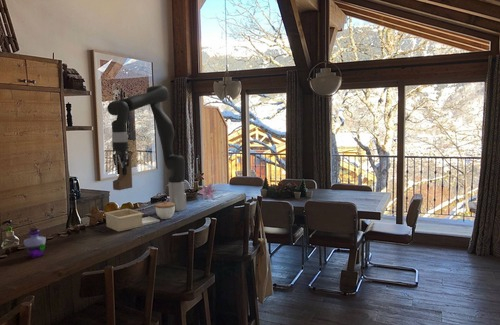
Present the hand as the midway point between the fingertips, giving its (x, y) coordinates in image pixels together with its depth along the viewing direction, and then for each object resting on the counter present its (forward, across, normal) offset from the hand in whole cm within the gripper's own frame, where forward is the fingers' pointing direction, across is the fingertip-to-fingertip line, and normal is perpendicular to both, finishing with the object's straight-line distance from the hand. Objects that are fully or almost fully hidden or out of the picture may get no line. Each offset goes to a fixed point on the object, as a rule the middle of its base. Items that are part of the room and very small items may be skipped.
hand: (121, 174), depth 203 cm
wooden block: (+8, 0, 0) cm, 8 cm away
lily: (+28, +26, -74) cm, 83 cm away
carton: (+27, 0, 0) cm, 27 cm away
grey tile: (+27, 0, -12) cm, 30 cm away
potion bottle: (+27, -15, +47) cm, 56 cm away
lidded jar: (+27, 0, -24) cm, 37 cm away
